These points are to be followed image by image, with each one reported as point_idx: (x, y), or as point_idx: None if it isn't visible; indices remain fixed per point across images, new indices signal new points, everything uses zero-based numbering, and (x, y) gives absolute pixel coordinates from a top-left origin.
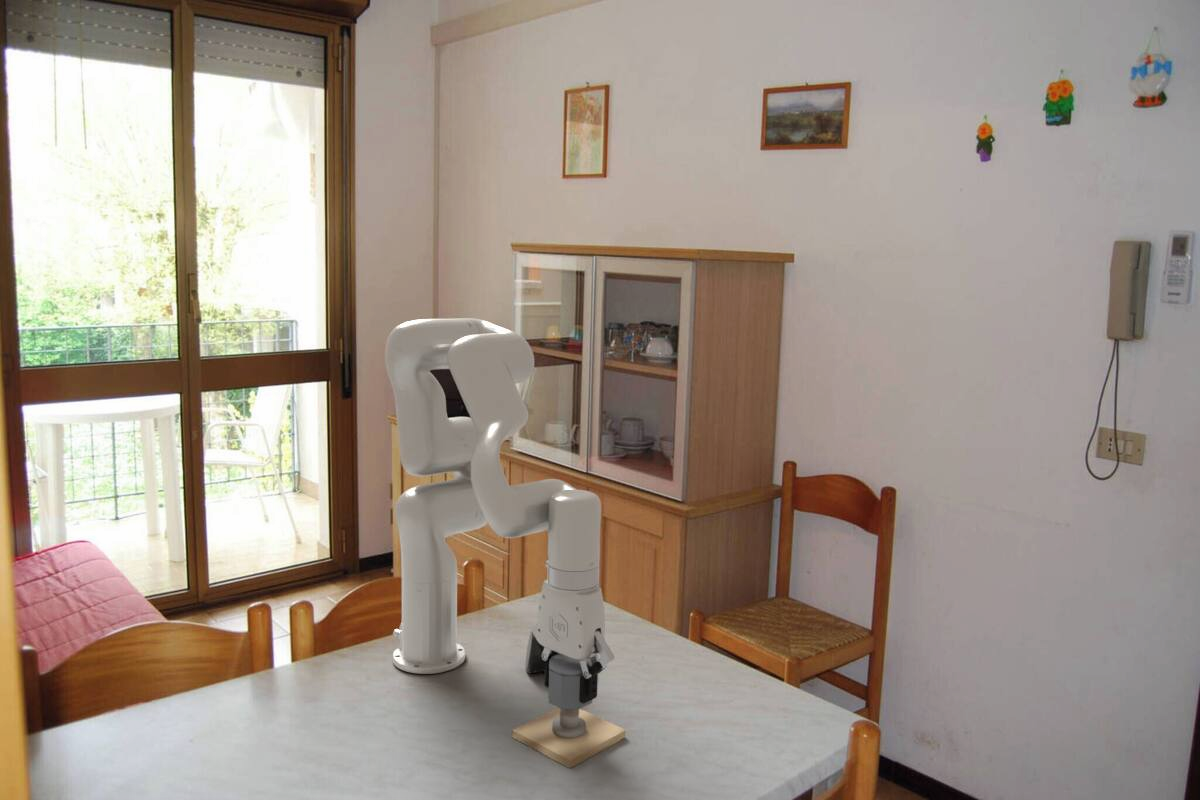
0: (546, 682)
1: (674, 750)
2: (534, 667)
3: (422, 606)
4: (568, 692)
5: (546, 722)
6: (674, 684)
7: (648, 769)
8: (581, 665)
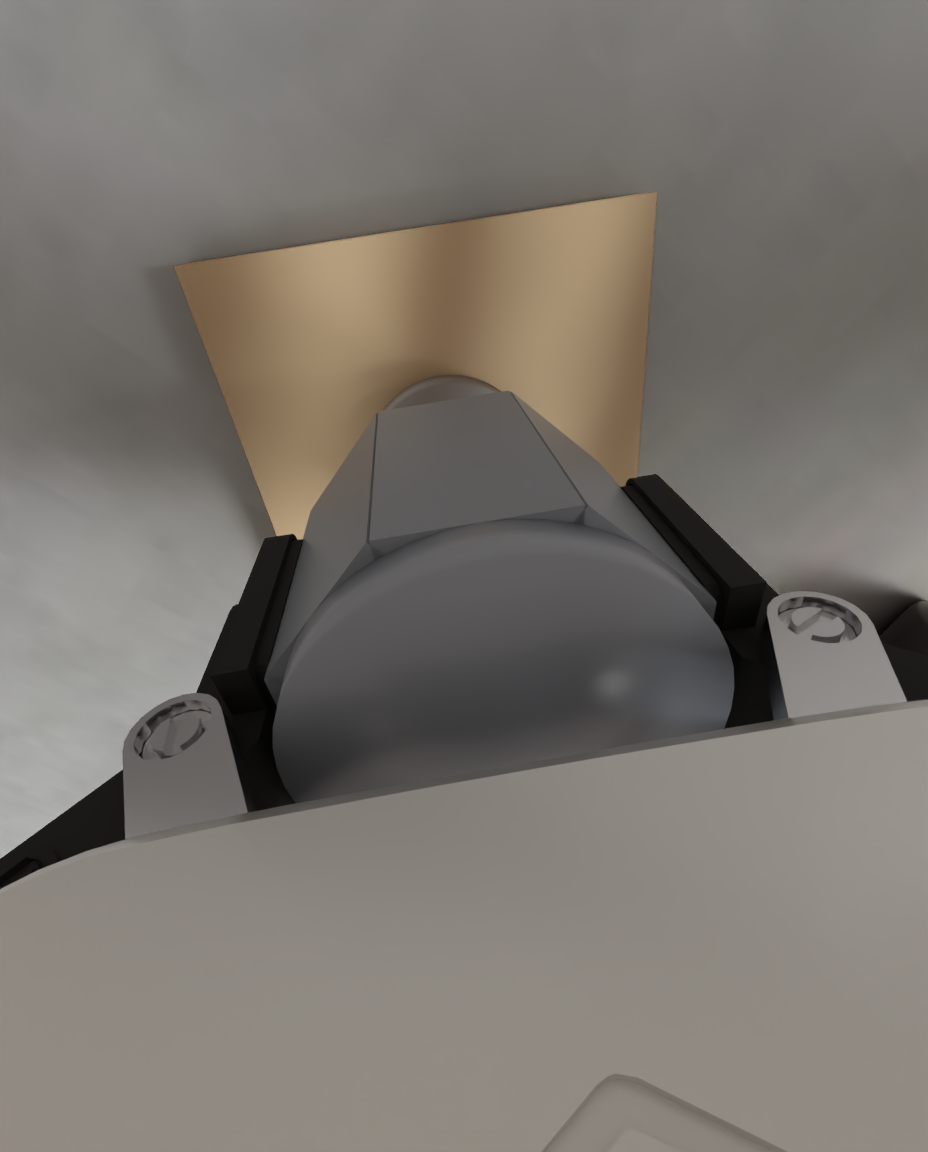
0: (647, 489)
1: (157, 685)
2: (910, 626)
3: None
4: (340, 505)
5: (575, 412)
6: None
7: (53, 553)
8: (227, 789)
